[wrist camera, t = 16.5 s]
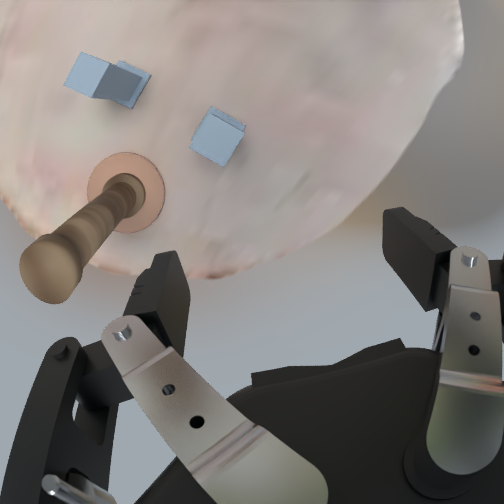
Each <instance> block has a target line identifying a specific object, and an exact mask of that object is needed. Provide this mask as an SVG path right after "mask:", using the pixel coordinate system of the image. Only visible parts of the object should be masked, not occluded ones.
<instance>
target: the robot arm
mask: <svg viewBox="0 0 504 504" xmlns="http://www.w3.org/2000/svg"><path fill="white" fill-rule="evenodd" d="M382 248H383V254H384V257H385V259H386V261H387V262H388V263H389V265H390V266H391V267H392V268H393V270H394V271H395V272H396V273H397V275H398V276H399V277H400V278H401V280H402V281H403V282H404V284H405V285H406V286H407V288H408V289H409V290H410V292H411V293H412V294H413V296H414V297H415V298H416V300H417V301H418V302H419V303H420V305H421V306H422V308H423V309H424V310H425V312H427V311H430V310H433V309H436V308H438V309H439V314H438V317H437V323H436V329H435V335H434V340H433V345H432V350H430V349H425V348H405V346H404V344H403V343H402V341H401V339H400V338H398V339H395V340H391V341H388V342H385V343H381V344H378V345H375V346H371V347H368V348H365V349H363V350H361V351H359V352H357V353H355V354H353V355H352V356H350V357H348V358H346V359H344V360H342V361H340V362H338V363H335V364H333V365H327V366H288V367H283V368H278V369H273V370H267V371H261V372H256V373H251V378H252V385H250V386H247V387H245V388H243V389H241V390H239V391H237V392H236V393H234V394H232V395H231V396H229V397H228V398H227V399H225V398H224V397H222V396H221V395H220V394H219V393H218V392H217V391H216V390H215V389H214V388H213V387H212V386H211V385H209V383H207V382H206V381H205V380H204V379H203V378H202V377H201V376H200V375H199V374H198V373H197V372H196V371H195V370H194V369H193V368H192V367H191V366H190V365H189V364H188V363H187V362H186V361H185V360H184V359H183V355H184V346H185V338H186V330H187V322H188V314H189V306H190V290H189V286H188V283H187V280H186V277H185V274H184V271H183V269H182V266H181V263H180V260H179V257H178V254H177V252H176V251H175V250H173V251H169V252H164V253H159V254H156V255H155V257H154V259H153V262H152V265H151V267H150V268H149V269H145V270H144V271H143V272H142V273H141V275H140V276H139V277H138V278H137V280H136V283H135V285H134V288H133V290H132V293H131V296H130V298H129V301H128V303H127V306H126V308H125V311H124V314H123V316H122V317H120V318H117V319H116V320H114V321H112V322H111V323H109V324H108V325H107V326H106V327H105V329H104V331H103V332H102V336H101V340H100V341H98V342H95V343H92V344H90V345H87V346H84V347H82V346H81V345H80V343H79V342H78V340H77V339H76V338H74V337H66V338H63V339H60V340H58V341H57V342H55V343H54V344H53V345H52V346H51V347H50V348H49V349H48V351H47V352H46V354H45V357H44V359H43V361H42V364H41V366H40V368H39V371H38V374H37V376H36V378H35V381H34V383H33V386H32V389H31V391H30V394H29V397H28V399H27V402H26V405H25V408H24V411H23V413H22V416H21V419H20V423H19V426H18V429H17V432H16V435H15V439H14V442H13V446H12V449H11V452H10V456H9V460H8V464H7V468H6V472H5V476H4V481H3V486H2V491H1V495H0V504H117V503H116V501H115V499H114V497H113V496H112V495H111V494H110V493H109V492H108V485H109V474H110V465H111V455H112V447H113V440H114V433H115V426H116V418H117V412H118V406H119V403H121V402H124V401H127V400H130V399H132V398H135V399H136V401H137V402H138V404H139V405H140V407H141V408H142V410H143V411H144V413H145V414H146V416H147V417H148V418H149V420H150V421H151V423H152V424H153V425H154V427H155V428H156V430H157V431H158V432H159V433H160V435H161V436H162V438H164V440H165V441H166V443H167V444H168V445H169V447H170V448H171V449H172V451H173V452H174V453H175V454H176V457H175V458H174V460H173V461H172V462H171V463H170V464H169V465H168V466H167V468H166V469H165V470H164V471H163V472H162V473H161V474H160V476H159V477H158V478H157V479H156V480H155V481H154V483H152V485H151V486H150V487H149V488H148V489H147V490H146V491H145V492H144V494H142V495H141V497H140V498H139V499H138V500H137V501H136V502H135V503H134V504H504V381H502V341H503V343H504V255H503V258H502V260H488V258H487V256H486V255H485V254H484V253H483V252H481V251H480V250H478V249H476V248H472V247H466V246H463V247H457V246H456V245H455V244H453V243H452V242H451V241H450V240H449V239H448V238H447V237H445V236H444V235H443V234H441V233H440V232H439V231H438V230H437V229H436V228H435V229H434V227H433V226H432V225H431V224H430V223H428V222H427V221H425V220H423V219H421V218H418V217H415V216H414V215H412V214H411V213H410V212H409V211H408V210H406V209H405V208H404V207H397V208H392V209H386V210H385V211H384V212H383V242H382ZM75 399H76V400H77V401H78V402H79V404H78V408H77V412H76V416H75V420H74V421H73V416H72V410H73V406H74V402H75Z"/></svg>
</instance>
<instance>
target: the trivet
mask: <svg viewBox="0 0 504 504" xmlns="http://www.w3.org/2000/svg"><path fill="white" fill-rule="evenodd" d="M120 173H130V174H133V175H135V176H136V177H137V178H139V179H140V181H141V182H142V183H143V185H144V188H145V192H146V197H145V202H144V204H143V206H142V207H141V209H140V210H139V211H138V212H137V213H136V214H135V215H134V216H132V217H130V218H126V219H122V221H121V222H120V223H119V224H118V225H117V227H116V228H115V229H114V230H113V231H116V232H121V233H133V232H137V231H140V230H142V229H144V228H146V227H148V226H149V225H150V224H151V223H152V222H153V221H154V220H155V219H156V217H157V216H158V214H159V212H160V211H161V209H162V206H163V203H164V197H165V189H164V183H163V179H162V177H161V175H160V173H159V171H158V169H157V168H156V167H155V166H154V165H153V164H152V163H151V162H150V161H149V160H148V159H146V158H145V157H143V156H141V155H138V154H135V153H128V152H125V153H118V154H114V155H112V156H109V157H108V158H106V159H104V160H103V161H101V162H100V163H99V164H98V165H97V166H96V168H95V169H94V170H93V172H92V174H91V176H90V178H89V182H88V187H87V196H88V202H91V201H92V200H93V199H95V198H96V197H97V196H99V195H100V194H101V193H102V189H103V187H104V185H105V183H106V182H107V181H108V180H109V179H110V178H112V177H113V176H115V175H117V174H120Z"/></svg>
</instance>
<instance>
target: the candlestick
mask: <svg viewBox="0 0 504 504" xmlns="http://www.w3.org/2000/svg"><path fill="white" fill-rule="evenodd" d="M145 197H146V192H145V188H144V185H143V183H142V182H141V181H140V179H139V178H137V177H136V176H135V175H133V174H130V173H120V174H117V175H115V176H113V177H112V178H110V179H109V180H108V181H107V182H106V183H105V185H104V187H103V189H102V193H101V194H100V195H99V196H97V197H96V198H95V199H93V200H92V201H91V202H89V203H88V204H87V205H86V206H84V207H83V208H82V209H81V210H79V211H78V212H77V213H76V214H74V215H73V216H72V217H71V218H69V219H68V220H67V221H66V222H64V223H63V224H62V225H61V226H60V227H58V228H57V229H56V230H55V231H54V232H53V233H51V234H45V235H42V236H41V237H39V238H38V239H37V240H36V241H35V242H33V243H32V244H31V245H30V246H29V247H28V248H27V249H26V250H25V251H24V252H23V253H22V255H21V258H20V264H19V267H20V273H21V277H22V280H23V282H24V284H25V285H26V287H27V288H28V290H30V292H31V293H32V294H33V295H34V296H35V297H37V298H38V299H40V300H41V301H44V302H46V303H49V304H60V303H63V302H64V301H66V300H67V299H68V298H69V296H70V295H71V294H72V292H73V290H74V289H75V288H76V286H77V285H78V283H79V282H80V280H81V277H82V273H83V268H84V267H85V265H86V264H87V263H88V262H89V260H90V259H91V258H92V256H93V255H94V254H95V253H96V251H97V250H98V249H99V247H100V246H101V245H102V244H103V242H104V241H105V240H106V239H107V237H108V236H109V235H110V234H111V233H112V231H113V230H114V229H115V228H116V227H117V225H118V224H119V223H120V222H121V221H122V219H126V218H130V217H132V216H134V215H135V214H136V213H137V212H138V211H139V210H140V209H141V207H142V206H143V204H144V202H145Z"/></svg>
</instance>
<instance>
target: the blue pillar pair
mask: <svg viewBox="0 0 504 504" xmlns="http://www.w3.org/2000/svg"><path fill="white" fill-rule="evenodd" d="M150 77H151V75H150V74H148V73H146V72H144V71H142V70H139V69H137V68H135V67H133V66H131V65H128V64H126V63H124V62H122V61H118V63H117V65H114V64H111V63H109V62H106V61H104V60H101V59H99V58H96V57H94V56H91V55H88V54H86V53H83V52H81V53H80V54H79V56H78V58H77V60H76V62H75V64H74V65H73V67H72V69H71V71H70V73H69V75H68V77H67V79H66V81H65V83H64V86H66V87H68V88H71V89H73V90H75V91H77V92H79V93H82V94H84V95H86V96H88V97H90V98H99V99H111V100H114V101H116V102H118V103H120V104H122V105H124V106H126V107H128V108H130V109H132V108H133V106H134V105H135V103H136V101H137V99H138V97H139V96H140V94H141V92H142V90H143V89H144V87H145V85H146V84H147V82H148V80H149V79H150ZM245 127H246V126H245V125H244V124H242V123H240V122H238V121H237V120H235V119H233V118H232V117H230V116H228V115H226V114H225V113H223V112H221V111H219V110H218V109H216V108H214V107H212V106H211V108H210V109H209V111H208V112H207V114H206V116H205V117H204V119H203V121H202V122H201V124H200V125H199V127H198V129H197V130H196V132H195V134H194V135H193V137H192V139H191V140H192V141H193V142H192V143H191V145H190V147H189V148H190V149H192V150H194V151H196V152H197V153H199V154H201V155H203V156H205V157H206V158H208V159H210V160H212V161H213V162H215V163H217V164H219V165H221V166H222V167H224V166H225V164H226V162H227V161H228V159H229V158H230V156H231V154H232V153H233V151H234V150H235V148H236V146H237V145H238V143H239V142H240V140H241V139H242V137H243V135H244V134H245V133H244V132H242V131H243V130H244V128H245Z"/></svg>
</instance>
